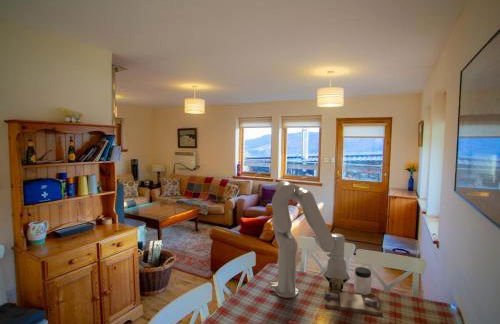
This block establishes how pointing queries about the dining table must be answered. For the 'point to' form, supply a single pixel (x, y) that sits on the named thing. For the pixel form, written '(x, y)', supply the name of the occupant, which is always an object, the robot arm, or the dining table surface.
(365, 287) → the jar
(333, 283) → the brass coupler
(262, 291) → the dining table surface
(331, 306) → the coupling jig
